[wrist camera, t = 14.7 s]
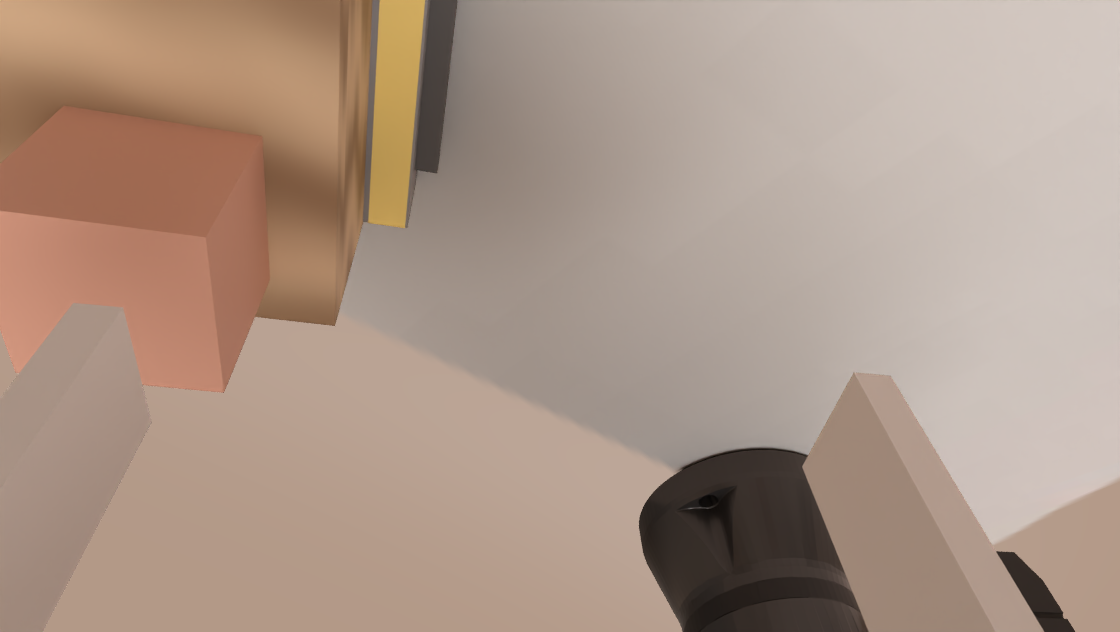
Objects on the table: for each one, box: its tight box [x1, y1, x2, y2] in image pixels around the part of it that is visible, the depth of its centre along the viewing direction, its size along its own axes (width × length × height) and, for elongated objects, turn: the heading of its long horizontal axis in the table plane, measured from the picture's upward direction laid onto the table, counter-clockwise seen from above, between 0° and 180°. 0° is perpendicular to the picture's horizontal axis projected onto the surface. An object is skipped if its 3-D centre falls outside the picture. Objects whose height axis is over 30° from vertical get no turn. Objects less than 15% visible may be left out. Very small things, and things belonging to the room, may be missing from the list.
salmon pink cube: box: [0, 106, 270, 393], centre depth 21 cm, size 6×6×6 cm
